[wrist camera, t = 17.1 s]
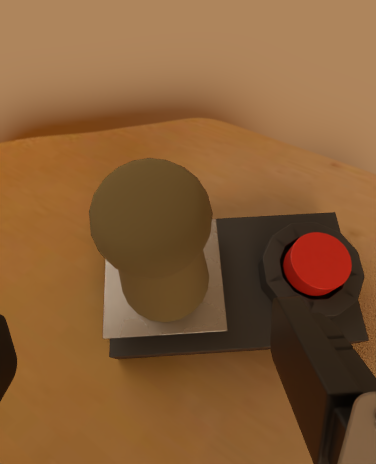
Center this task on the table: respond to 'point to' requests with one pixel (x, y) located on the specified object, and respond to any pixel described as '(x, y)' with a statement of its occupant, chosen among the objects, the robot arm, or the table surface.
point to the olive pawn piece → (154, 236)
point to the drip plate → (199, 321)
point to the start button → (317, 264)
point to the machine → (259, 289)
